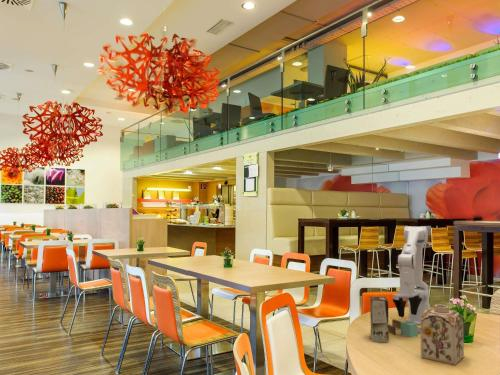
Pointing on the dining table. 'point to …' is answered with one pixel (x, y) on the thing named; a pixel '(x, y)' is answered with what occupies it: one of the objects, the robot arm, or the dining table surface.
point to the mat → (418, 330)
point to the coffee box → (379, 319)
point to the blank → (408, 329)
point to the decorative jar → (442, 335)
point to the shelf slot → (394, 326)
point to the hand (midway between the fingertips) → (407, 315)
